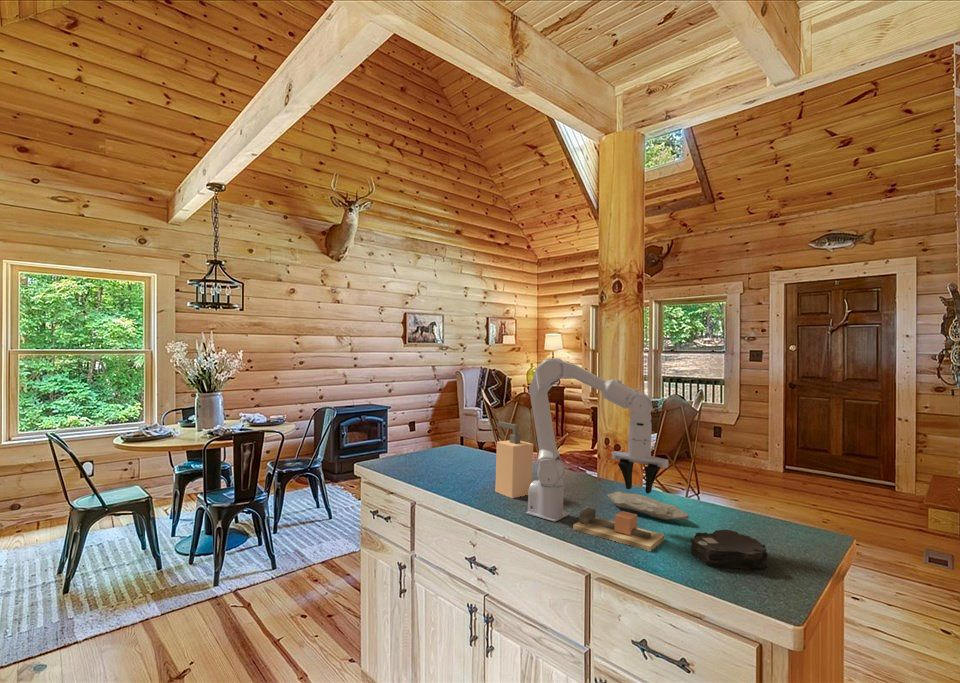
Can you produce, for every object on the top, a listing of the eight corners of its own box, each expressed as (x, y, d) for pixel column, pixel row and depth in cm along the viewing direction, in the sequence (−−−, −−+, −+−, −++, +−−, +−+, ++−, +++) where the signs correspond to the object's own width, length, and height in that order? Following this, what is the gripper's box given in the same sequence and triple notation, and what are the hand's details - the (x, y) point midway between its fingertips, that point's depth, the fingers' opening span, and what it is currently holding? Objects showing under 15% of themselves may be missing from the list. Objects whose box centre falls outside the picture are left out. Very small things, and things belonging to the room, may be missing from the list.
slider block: (614, 530, 120) (614, 515, 120) (621, 526, 123) (622, 510, 123) (629, 535, 117) (630, 519, 117) (636, 530, 121) (637, 514, 121)
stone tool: (620, 484, 152) (698, 504, 133) (620, 500, 152) (698, 522, 133) (598, 489, 145) (677, 511, 126) (598, 506, 145) (677, 530, 125)
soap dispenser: (532, 494, 154) (534, 425, 154) (512, 498, 149) (514, 427, 149) (506, 484, 164) (508, 420, 165) (487, 488, 159) (489, 422, 160)
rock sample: (707, 540, 120) (707, 520, 120) (779, 560, 109) (779, 538, 110) (680, 560, 108) (680, 538, 108) (758, 585, 97) (758, 560, 97)
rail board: (573, 529, 124) (573, 513, 124) (590, 519, 132) (591, 505, 132) (650, 551, 111) (650, 534, 111) (664, 539, 119) (664, 523, 119)
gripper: (672, 441, 125) (671, 493, 125) (619, 433, 134) (618, 482, 134) (663, 444, 120) (662, 499, 120) (609, 436, 129) (607, 487, 129)
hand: (638, 490), depth 126 cm, fingers open, 5 cm apart
